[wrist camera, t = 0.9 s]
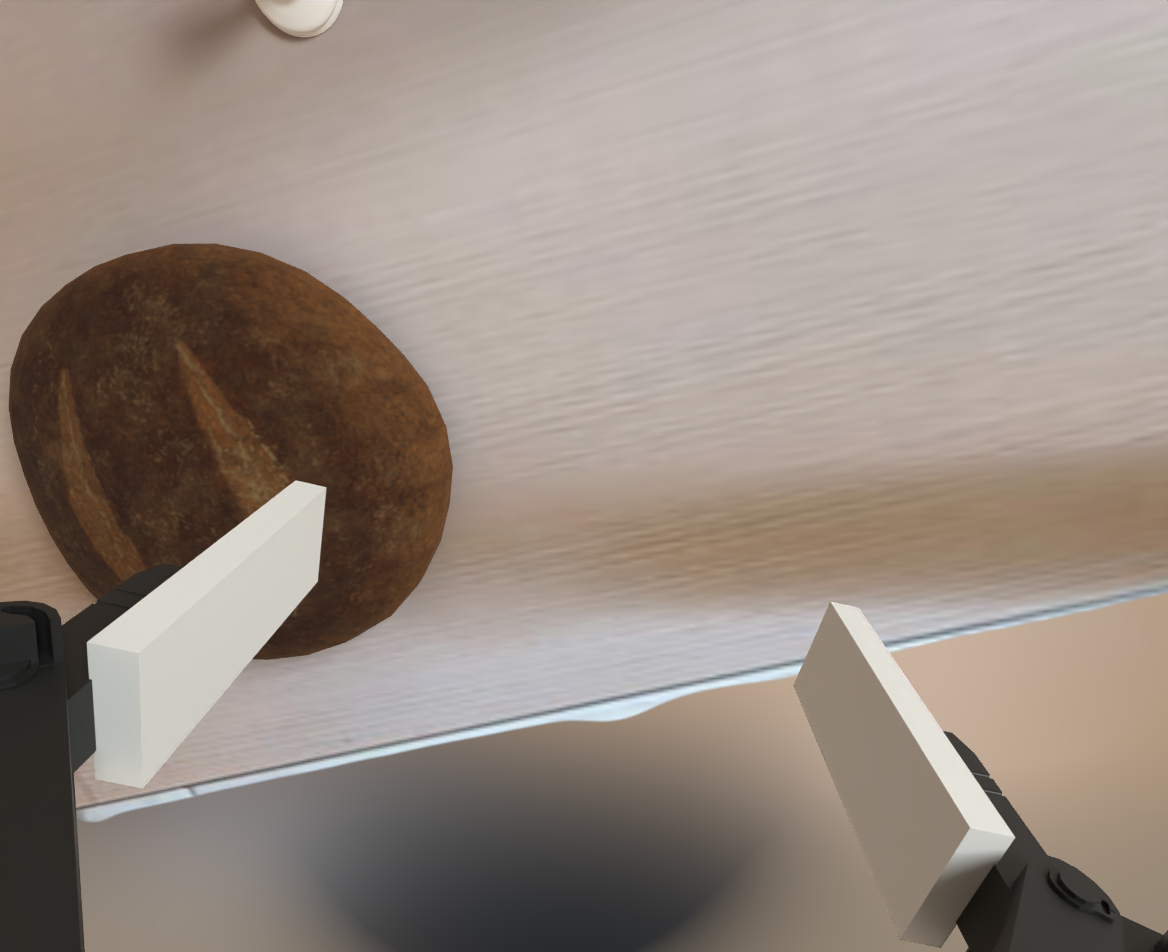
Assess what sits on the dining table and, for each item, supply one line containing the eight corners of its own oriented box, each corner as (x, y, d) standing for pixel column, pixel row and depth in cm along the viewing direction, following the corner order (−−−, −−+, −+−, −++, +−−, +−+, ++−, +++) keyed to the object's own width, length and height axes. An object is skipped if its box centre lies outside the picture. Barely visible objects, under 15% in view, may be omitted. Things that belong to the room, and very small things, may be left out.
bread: (387, 198, 37) (326, 185, 29) (503, 591, 46) (481, 666, 38) (-33, 302, 40) (-197, 316, 32) (154, 652, 49) (64, 734, 41)
